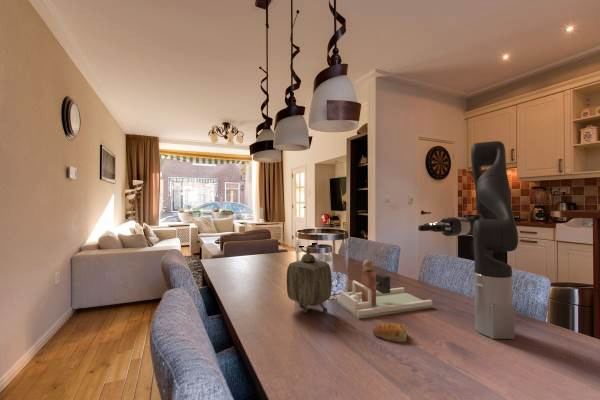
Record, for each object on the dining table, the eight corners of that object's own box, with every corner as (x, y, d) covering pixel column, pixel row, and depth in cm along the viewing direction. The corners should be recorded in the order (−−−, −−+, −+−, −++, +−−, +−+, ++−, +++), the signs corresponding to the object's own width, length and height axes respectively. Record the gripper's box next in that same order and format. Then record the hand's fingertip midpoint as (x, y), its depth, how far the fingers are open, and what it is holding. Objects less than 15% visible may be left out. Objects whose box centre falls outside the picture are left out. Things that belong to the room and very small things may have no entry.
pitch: (402, 293, 121) (402, 287, 121) (432, 307, 105) (432, 300, 105) (337, 301, 112) (337, 295, 112) (358, 318, 96) (358, 311, 96)
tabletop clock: (332, 312, 102) (331, 241, 102) (317, 320, 95) (316, 244, 95) (300, 303, 111) (299, 238, 111) (284, 310, 104) (283, 241, 104)
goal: (355, 299, 112) (354, 279, 112) (372, 310, 100) (372, 289, 100) (339, 301, 110) (339, 281, 110) (355, 313, 98) (354, 291, 98)
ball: (361, 307, 103) (360, 296, 103) (350, 308, 103) (348, 297, 103) (359, 302, 107) (358, 292, 107) (349, 304, 107) (347, 293, 107)
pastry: (372, 340, 82) (372, 326, 82) (373, 329, 88) (373, 317, 88) (407, 344, 79) (407, 330, 79) (405, 333, 86) (405, 320, 86)
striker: (382, 298, 111) (382, 257, 111) (390, 302, 106) (389, 259, 106) (360, 301, 108) (360, 258, 108) (367, 306, 104) (367, 261, 104)
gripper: (442, 216, 125) (408, 217, 120) (468, 218, 112) (431, 219, 107) (442, 233, 125) (408, 235, 120) (468, 237, 112) (432, 239, 107)
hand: (419, 228), depth 113 cm, fingers closed
